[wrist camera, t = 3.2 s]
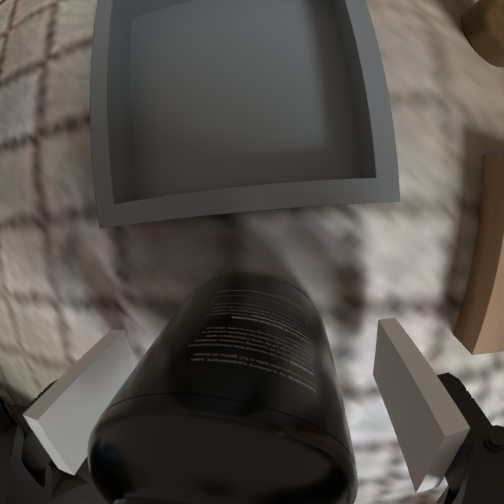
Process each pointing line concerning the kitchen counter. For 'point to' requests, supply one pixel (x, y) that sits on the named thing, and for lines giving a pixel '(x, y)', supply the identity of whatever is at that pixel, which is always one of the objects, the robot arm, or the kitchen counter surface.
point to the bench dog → (486, 29)
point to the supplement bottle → (230, 406)
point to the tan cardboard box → (486, 269)
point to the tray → (237, 108)
